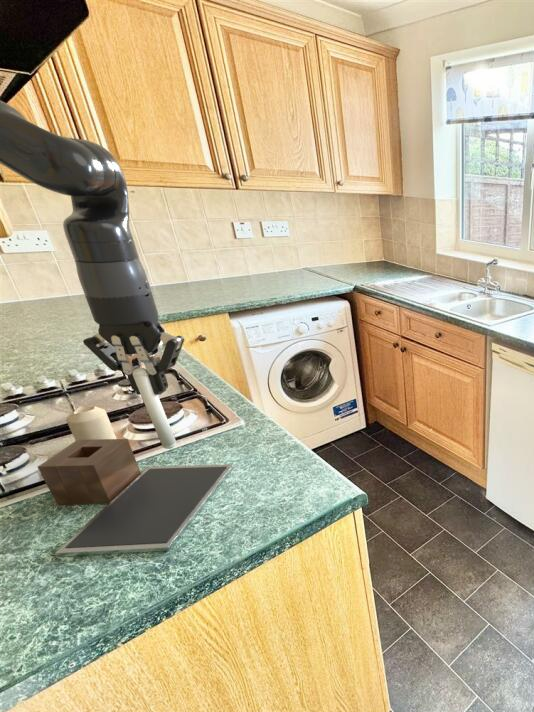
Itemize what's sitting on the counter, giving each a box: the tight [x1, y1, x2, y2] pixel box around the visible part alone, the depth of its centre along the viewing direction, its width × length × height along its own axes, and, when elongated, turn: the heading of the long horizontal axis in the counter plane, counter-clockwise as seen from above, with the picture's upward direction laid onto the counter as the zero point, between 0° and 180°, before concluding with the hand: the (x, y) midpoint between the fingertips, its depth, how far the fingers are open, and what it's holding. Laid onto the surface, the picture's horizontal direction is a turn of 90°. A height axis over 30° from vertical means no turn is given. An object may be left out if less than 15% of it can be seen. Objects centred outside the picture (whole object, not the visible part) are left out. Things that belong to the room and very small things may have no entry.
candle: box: [65, 404, 118, 442], centre depth 82 cm, size 6×6×10 cm
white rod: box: [132, 367, 177, 450], centre depth 71 cm, size 2×2×16 cm
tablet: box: [54, 463, 235, 558], centre depth 71 cm, size 15×21×1 cm
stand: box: [37, 438, 142, 507], centre depth 73 cm, size 8×8×8 cm
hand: (152, 392), depth 70 cm, fingers closed on white rod, 2 cm apart
